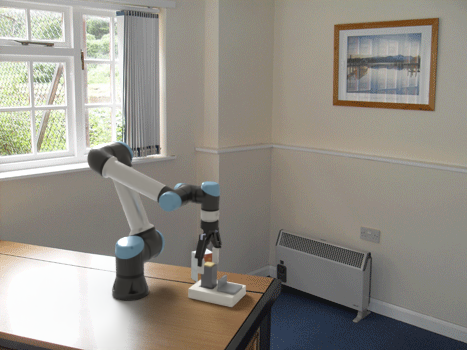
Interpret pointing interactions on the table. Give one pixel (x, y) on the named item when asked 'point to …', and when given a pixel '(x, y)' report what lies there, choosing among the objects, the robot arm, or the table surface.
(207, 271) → the plug
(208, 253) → the small box
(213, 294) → the socket
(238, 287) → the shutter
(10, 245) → the table surface
